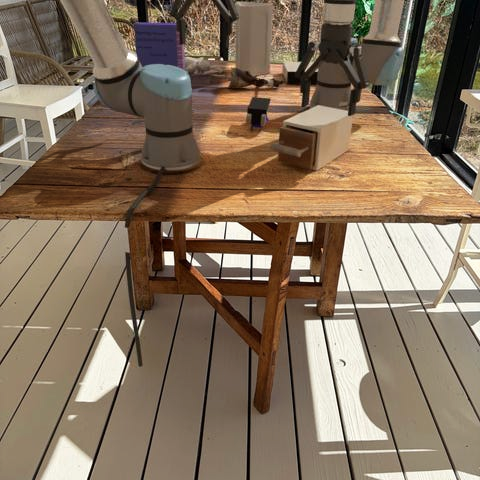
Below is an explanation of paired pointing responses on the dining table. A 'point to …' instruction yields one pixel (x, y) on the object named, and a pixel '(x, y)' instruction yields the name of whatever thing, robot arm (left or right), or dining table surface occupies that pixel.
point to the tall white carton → (253, 37)
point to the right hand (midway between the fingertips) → (327, 110)
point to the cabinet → (325, 131)
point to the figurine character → (257, 112)
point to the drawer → (296, 146)
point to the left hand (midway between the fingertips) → (204, 45)
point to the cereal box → (158, 44)
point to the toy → (199, 65)
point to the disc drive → (291, 69)
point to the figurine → (246, 79)
